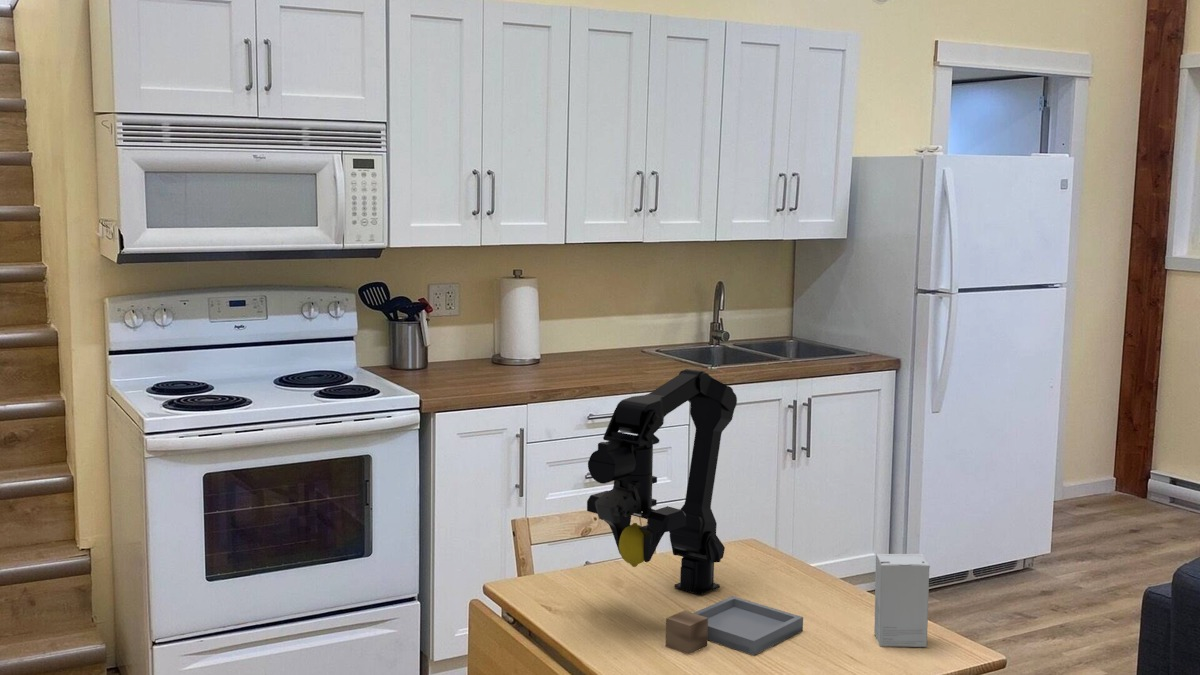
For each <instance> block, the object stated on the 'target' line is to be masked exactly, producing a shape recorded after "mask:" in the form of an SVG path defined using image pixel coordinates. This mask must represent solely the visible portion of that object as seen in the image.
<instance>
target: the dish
mask: <svg viewBox="0 0 1200 675" xmlns="http://www.w3.org/2000/svg"><path fill="white" fill-rule="evenodd" d="M693 613H694V614H697V615H700V616H704V617H707V618H708V635H707V641H709V642H712V643H715V644H718V645H721V646H724V647H727V648H730V649H733V650H736V651H739V652H740V653H741V652H742V653H744V654H747V655H751V656H755V654H756V655H758V654H760V653H761V652H763V651H765V650H768V649H769V648H772V647H774V646H776V645H777V644H779V643H781V642H783V641H785V640H788V639H789V638H791V637H793V636H795V635H797V634H799V633H801V632H803V631H804V630H803V629H804V617H803V616H800V615H798V614H796V613H795V614H794V613H791V612H788V611H784V610H781V609H778V608H774V607H772V606H768V605H764V604H762V603H758V602H755V601H751V600H747V599H744V598H741V597H737V596H734V595H732V596H729V597H726V598H725V599H722V600H720V601H718V602H715V603H714V604H711V605H708V606H706V607H703V608H702V609H699V610H696V611H694V612H693Z"/></svg>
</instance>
